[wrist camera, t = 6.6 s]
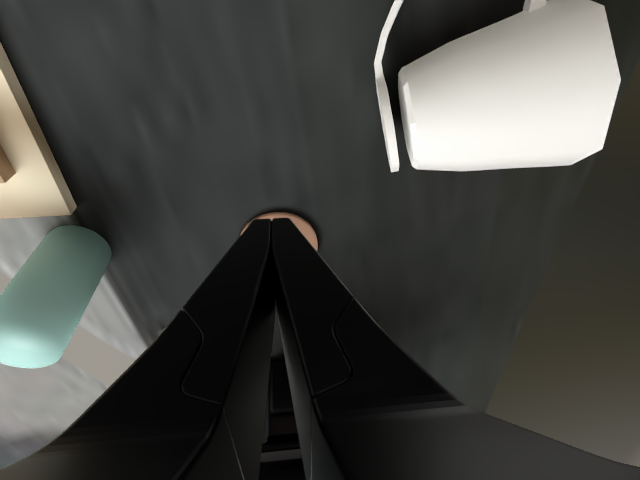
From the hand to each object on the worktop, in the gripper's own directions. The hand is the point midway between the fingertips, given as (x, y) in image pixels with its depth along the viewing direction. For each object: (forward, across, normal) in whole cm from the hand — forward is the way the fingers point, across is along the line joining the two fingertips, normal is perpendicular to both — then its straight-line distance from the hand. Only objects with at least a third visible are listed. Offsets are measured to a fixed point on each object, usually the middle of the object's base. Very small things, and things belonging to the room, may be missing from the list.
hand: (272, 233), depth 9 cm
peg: (+12, +12, +9) cm, 19 cm away
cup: (+10, -5, 0) cm, 11 cm away
